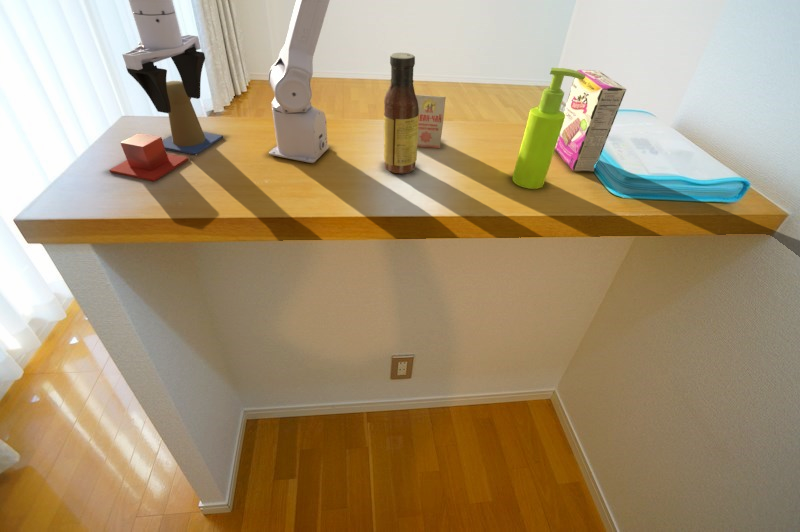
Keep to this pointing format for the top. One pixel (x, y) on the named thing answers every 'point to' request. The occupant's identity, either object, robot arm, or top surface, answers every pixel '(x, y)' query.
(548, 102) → the soap dispenser
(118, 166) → the red mat
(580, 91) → the candy bar box
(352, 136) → the top surface
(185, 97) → the cork
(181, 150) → the blue mat
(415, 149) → the sauce bottle
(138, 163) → the red block
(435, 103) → the beige carton box
